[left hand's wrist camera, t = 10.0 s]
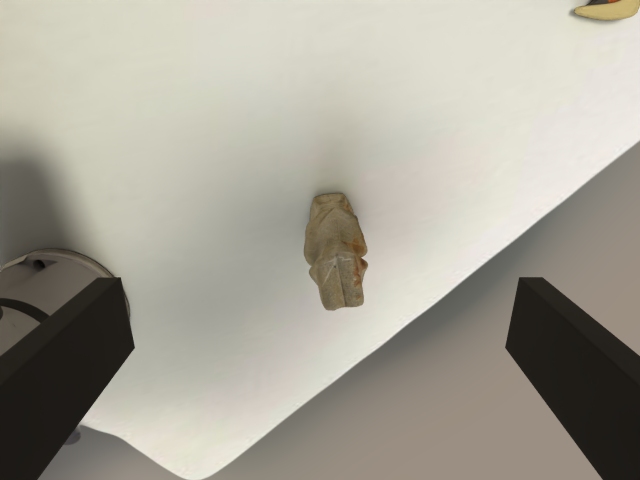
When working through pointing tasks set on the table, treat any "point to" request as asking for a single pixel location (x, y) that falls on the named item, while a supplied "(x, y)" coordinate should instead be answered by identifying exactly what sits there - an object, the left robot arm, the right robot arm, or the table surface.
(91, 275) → the left robot arm
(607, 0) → the toy gun
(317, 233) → the sculpture
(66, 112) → the table surface
